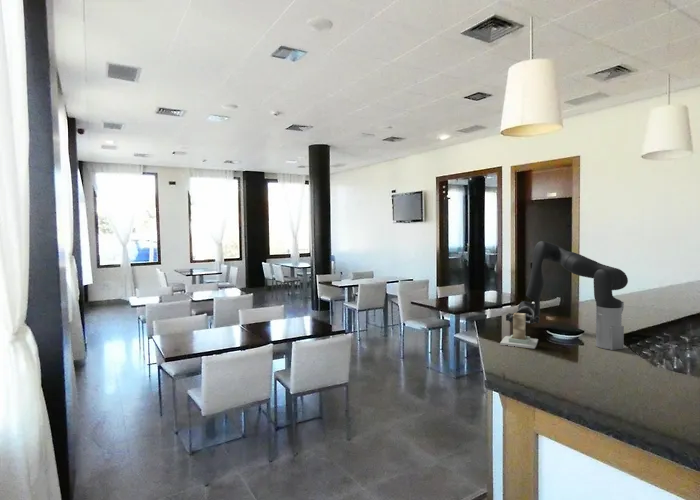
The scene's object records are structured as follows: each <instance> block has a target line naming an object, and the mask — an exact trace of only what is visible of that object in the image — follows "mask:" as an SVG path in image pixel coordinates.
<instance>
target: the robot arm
mask: <svg viewBox="0 0 700 500" xmlns="http://www.w3.org/2000/svg"><path fill="white" fill-rule="evenodd" d="M533 249H534V250H533V255H532V264H531V272H530V278H529V283H528V285H527V289H526V293H525V296H526V297H527V298H529V299H530V300H531V299H532V300H533V301H534V303H533V302H529V301H524V300H523V301H521V302H520V303H519V304H518V307H517V311H516V313H526V325H528V324H529V325H532V324H539V323H540V314H541V297H542V293H543V289H544V286H545V285H544V283H545V282H544V281H545V280H544V276H543V269H542V268H543V267H542V265H543V262H544V261H546V262H553V263H557V264H559V265H561V266H562V267H563V269H565V270H566V271H567V272H570V273H572V274H573V275H576V276H579V277H583V278H590V279H593V297H594V301H595V346H596V347H597V348H600V349H605V350H611V351H615V350H616V351H617V350H624V342H625V340H624V338H625V334H624V333H625V332H624V331H625V329H624V326H623V325H622V322H623V321H622V319H623V318H622V317H623V315H622V314H623V312H622V302H623V301H622V300H620V299H619V298H616V297H615V296H613V291H619V290H622V289H624V288H625V287H626V286H627V285H628V282H629V279H628V276H627V275H626V273H625V272H624V271H623V270H621V269H620V268H617V267H614V266H613V267H612V266H609V265H605V264H603V263H600V262H597V261H596V260H594V259H591V258H589V257H587V256H584V255H582V254H579V253H577V252H574V251H573V252H572V251H568V250H566V249H564V248H562V246H559V245H557V244H555V243H552V242H549V241H546V240H540V241H538V242H537V243H536V244H535V246H534V248H533ZM621 301H622V302H621ZM505 321H508V322H509V323H512V324H513V314H512V313H507V314H506V315H505Z"/></svg>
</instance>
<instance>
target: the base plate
mask: <svg viewBox="0 0 700 500" xmlns="http://www.w3.org/2000/svg"><path fill="white" fill-rule="evenodd" d="M538 343H539V339H538V338H533V337H531V336H528V335H526V340H523V339H513V334H510V335H505V336H504V337H503V338H502V339H501V341H500V343H499V345H500V346H505V345H508V347H514V346H515V348H523V349H524V348H525V349H526V348H527V349H534V350H535V349H536V348H537V346H538Z"/></svg>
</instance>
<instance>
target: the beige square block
mask: <svg viewBox="0 0 700 500" xmlns="http://www.w3.org/2000/svg"><path fill="white" fill-rule="evenodd" d="M512 315H513V321H512V335H513V339H523V340H526V336H527V335H526V325H527V324H526V313H517V312H514V313H513V314H512Z"/></svg>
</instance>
